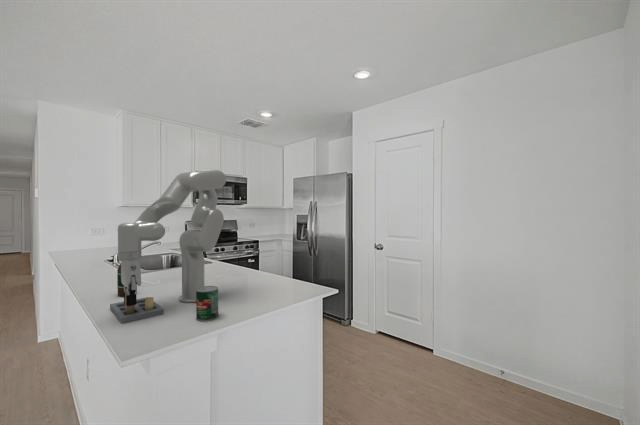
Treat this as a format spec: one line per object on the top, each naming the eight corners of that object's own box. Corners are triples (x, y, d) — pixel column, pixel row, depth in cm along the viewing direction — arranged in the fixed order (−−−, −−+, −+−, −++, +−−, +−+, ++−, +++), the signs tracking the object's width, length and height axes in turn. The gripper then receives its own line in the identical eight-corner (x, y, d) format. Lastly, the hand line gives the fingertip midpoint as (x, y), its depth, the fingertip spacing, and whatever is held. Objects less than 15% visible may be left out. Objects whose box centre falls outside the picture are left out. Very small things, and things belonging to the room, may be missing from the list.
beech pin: (135, 314, 112) (135, 288, 112) (126, 316, 110) (126, 290, 110) (133, 312, 115) (133, 287, 115) (124, 314, 113) (124, 288, 112)
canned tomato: (220, 313, 117) (220, 285, 117) (216, 320, 109) (216, 290, 109) (199, 314, 116) (199, 286, 116) (193, 321, 108) (193, 291, 108)
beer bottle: (140, 293, 145) (140, 244, 144) (125, 298, 137) (125, 246, 137) (128, 292, 147) (128, 243, 147) (113, 296, 140) (113, 245, 140)
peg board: (163, 314, 116) (163, 298, 116) (121, 323, 106) (121, 307, 106) (148, 301, 132) (148, 288, 132) (110, 309, 122) (109, 294, 122)
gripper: (146, 257, 109) (147, 306, 109) (135, 252, 121) (136, 297, 121) (122, 259, 104) (123, 311, 104) (113, 254, 116) (114, 301, 116)
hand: (130, 303), depth 113 cm, fingers closed on beech pin, 3 cm apart
